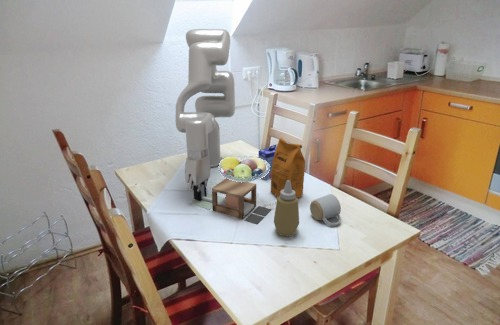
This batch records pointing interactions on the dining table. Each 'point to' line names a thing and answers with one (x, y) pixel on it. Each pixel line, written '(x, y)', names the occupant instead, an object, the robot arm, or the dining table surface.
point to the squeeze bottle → (286, 211)
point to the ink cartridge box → (268, 158)
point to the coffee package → (287, 168)
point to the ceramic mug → (326, 209)
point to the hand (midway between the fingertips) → (200, 197)
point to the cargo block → (232, 201)
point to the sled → (247, 206)
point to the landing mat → (205, 202)
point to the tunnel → (237, 191)
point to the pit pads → (257, 218)
